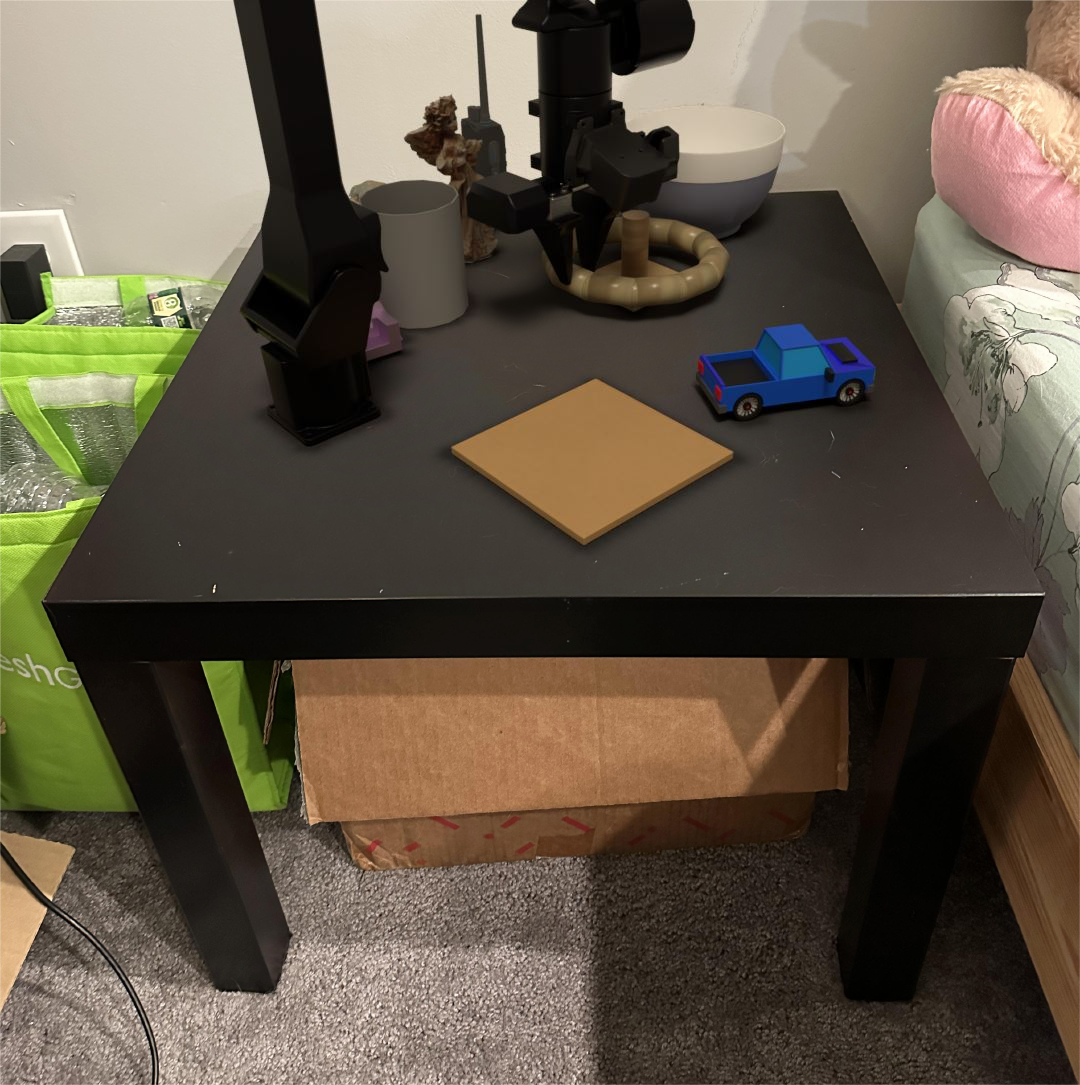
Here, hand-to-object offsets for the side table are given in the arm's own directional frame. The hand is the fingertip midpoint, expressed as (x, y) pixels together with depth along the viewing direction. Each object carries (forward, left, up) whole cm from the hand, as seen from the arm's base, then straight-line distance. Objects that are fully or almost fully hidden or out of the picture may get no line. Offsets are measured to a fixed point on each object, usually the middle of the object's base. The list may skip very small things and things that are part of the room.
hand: (576, 279), depth 83 cm
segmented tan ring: (+7, 0, 0) cm, 7 cm away
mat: (-15, -18, -3) cm, 24 cm away
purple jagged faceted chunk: (-18, +8, -3) cm, 20 cm away
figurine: (0, +17, -3) cm, 17 cm away
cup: (-10, +10, -3) cm, 14 cm away
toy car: (+1, -22, -3) cm, 22 cm away
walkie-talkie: (+7, +22, -3) cm, 23 cm away
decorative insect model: (-2, +29, -3) cm, 29 cm away
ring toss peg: (+7, 0, -3) cm, 8 cm away
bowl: (+22, +6, -3) cm, 23 cm away
